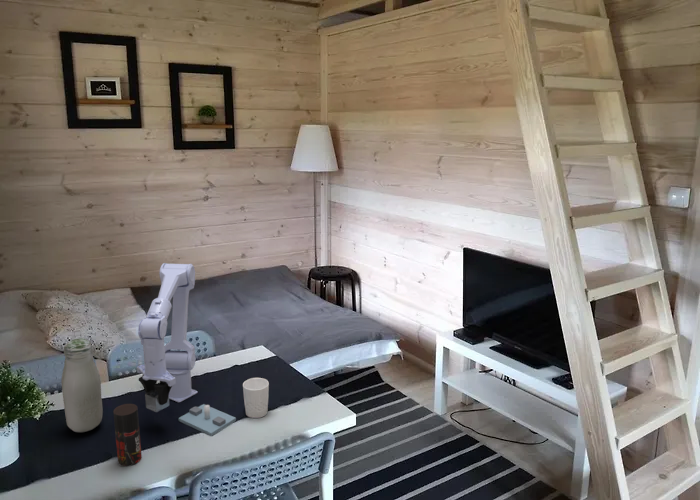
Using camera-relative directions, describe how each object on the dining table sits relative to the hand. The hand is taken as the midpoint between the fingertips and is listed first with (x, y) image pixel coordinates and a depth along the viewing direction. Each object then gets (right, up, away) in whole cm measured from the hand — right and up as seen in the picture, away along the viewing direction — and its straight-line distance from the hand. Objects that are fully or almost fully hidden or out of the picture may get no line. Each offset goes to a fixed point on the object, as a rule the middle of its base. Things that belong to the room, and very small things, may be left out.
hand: (157, 400), depth 161 cm
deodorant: (-3, -13, -13) cm, 18 cm away
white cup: (+27, -7, +12) cm, 30 cm away
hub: (0, -2, 0) cm, 2 cm away
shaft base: (+13, -8, +6) cm, 16 cm away
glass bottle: (-21, -9, +1) cm, 23 cm away
